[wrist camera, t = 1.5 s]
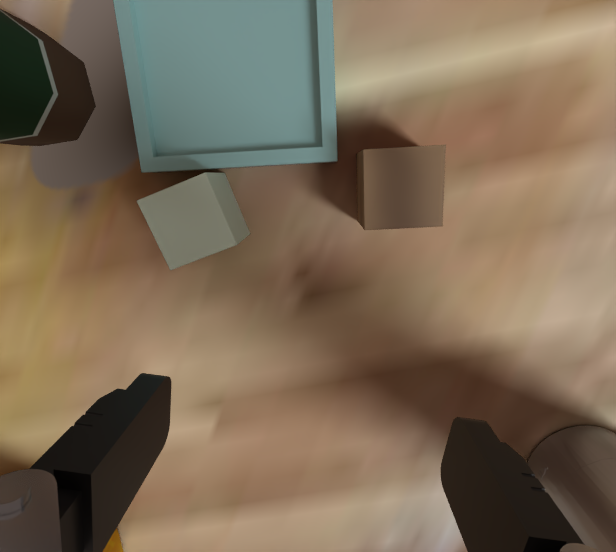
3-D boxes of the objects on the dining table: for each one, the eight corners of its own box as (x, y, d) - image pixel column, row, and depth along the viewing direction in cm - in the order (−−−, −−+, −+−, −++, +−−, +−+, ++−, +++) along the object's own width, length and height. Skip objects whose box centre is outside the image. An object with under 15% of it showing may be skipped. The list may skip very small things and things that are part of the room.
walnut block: (424, 149, 28) (445, 144, 23) (422, 217, 29) (442, 226, 24) (356, 153, 28) (363, 149, 23) (357, 221, 29) (364, 230, 24)
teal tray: (329, -63, 24) (329, -83, 22) (336, 162, 28) (337, 161, 26) (119, -45, 25) (102, -63, 23) (153, 172, 29) (141, 172, 27)
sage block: (224, 172, 28) (205, 172, 24) (250, 233, 30) (236, 244, 25) (167, 196, 29) (136, 200, 24) (194, 255, 30) (170, 270, 25)
